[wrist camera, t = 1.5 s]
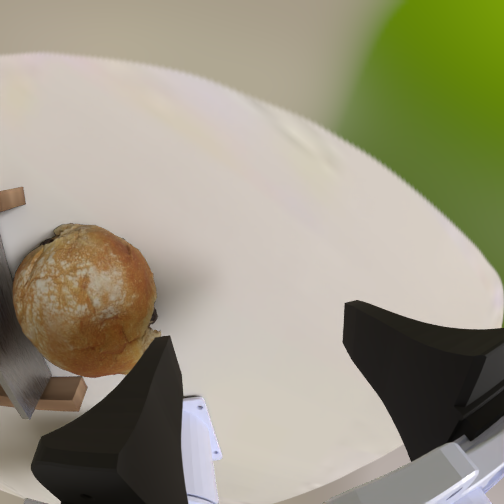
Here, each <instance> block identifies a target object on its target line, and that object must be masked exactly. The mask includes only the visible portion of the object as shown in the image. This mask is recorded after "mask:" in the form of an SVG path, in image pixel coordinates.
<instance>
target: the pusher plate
mask: <svg viewBox="0 0 504 504" xmlns="http://www.w3.org/2000/svg"><path fill="white" fill-rule="evenodd" d="M12 291H13V280H12V277H11V274H10V270H9V267H8V263H7V260H6V256H5V252H4V248H3V244H2V240H1V236H0V384H1V386H2V388H3V389H4V391H5V393H6V394H7V396H8V397H9V399H10V401H11V402H12V404H13V405H14V407H15V408H16V410H17V411H18V413H19V414H20V416H21V417H22V418H23V419H30V418H31V416H32V414H33V412H34V410H35V408H36V405H37V403H38V401H39V399H40V397H41V395H42V393H43V391H44V389H45V387H46V385H47V384H48V382H49V380H50V378H51V376H52V375H51V373H50V371H49V369H48V367H47V365H46V363H45V361H44V359H43V357H42V355H41V353H40V352H39V351H38V350H37V349H36V347H35V346H34V345H33V344H32V342H31V341H30V340H29V339H28V338H27V337H26V335H25V334H24V333H23V331H22V328H21V326H20V324H19V322H18V319H17V317H16V313H15V309H14V304H13V292H12Z"/></svg>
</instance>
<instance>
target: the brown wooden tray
mask: <svg viewBox="0 0 504 504" xmlns="http://www.w3.org/2000/svg"><path fill="white" fill-rule="evenodd" d="M24 204H26V203H25V197H24V190H23V187H19V188H14V189H9V190H4V191H0V212H2V211H5V210H8V209H11V208H14V207H17V206H21V205H24ZM86 390H87V386H86V384H85V382H84V380H83V378H82V377H51V378H50V380H49V382H48V384H47V385H46V387H45V389H44V391H43V393H42V395H41V397H40V399H39V401H38V403H37V405H36V408H35V409H37V410H52V411H77V412H79V410H80V407H81V404H82V401H83V398H84V396H85V393H86ZM0 405H1V406H8V407H14V405H13V404H12V402H11V401H10V399H9V397H8V396H7V394H6V393H5V391H4V389H3V388H2V386H1V384H0Z"/></svg>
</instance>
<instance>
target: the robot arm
mask: <svg viewBox="0 0 504 504" xmlns="http://www.w3.org/2000/svg"><path fill="white" fill-rule="evenodd" d="M343 344H344V346H345V348H346V350H347V352H348V354H349V356H350V357H351V359H352V361H353V362H354V364H355V365H356V366H357V368H358V369H359V370H360V372H361V373H362V374H363V376H364V377H365V378H366V380H367V381H368V382H369V383H370V385H371V386H372V387H373V389H374V390H375V391H376V393H377V394H378V396H379V397H380V399H381V400H382V402H383V403H384V405H385V407H386V409H387V410H388V412H389V414H390V416H391V418H392V420H393V422H394V424H395V426H396V428H397V430H398V432H399V434H400V436H401V438H402V441H403V443H404V445H405V447H406V450H407V452H408V455H409V457H410V460H411V463H408V464H407V465H404V466H402V467H400V468H398V469H397V470H394V471H392V472H390V473H388V474H386V475H384V476H381V477H379V478H377V479H374V480H372V481H370V482H367V483H365V484H362V485H360V486H358V487H355V488H352V489H350V490H348V491H346V492H343V493H341V494H339V495H336V496H334V497H332V498H330V499H329V500H327V501H325V502H323V503H322V504H492V503H491V502H490V500H489V499H488V497H487V496H486V495H485V493H486V492H487V491H489V490H490V489H491V488H492V487H493V486H494V485H495V484H497V482H499V481H500V480H501V479H502V478H503V477H504V328H498V329H485V330H477V329H458V328H449V327H443V326H437V325H433V324H428V323H424V322H420V321H417V320H413V319H410V318H407V317H404V316H401V315H398V314H395V313H393V312H390V311H387V310H385V309H382V308H379V307H377V306H374V305H371V304H369V303H366V302H363V301H359V300H356V301H351V302H347V303H345V309H344V329H343ZM220 459H222V453H221V450H220V447H219V444H218V441H217V438H216V435H215V432H214V429H213V426H212V423H211V420H210V416H209V413H208V410H207V407H206V403H205V400H204V398H202V397H191V398H183V384H182V374H181V371H180V368H179V364H178V361H177V358H176V354H175V351H174V348H173V344H172V341H171V337H170V336H162V337H155V338H154V340H153V341H152V342H151V344H150V345H149V346H148V348H147V349H146V351H145V352H144V353H143V355H142V356H141V358H140V359H139V360H138V362H137V363H136V364H135V366H134V367H133V368H132V369H131V371H130V372H129V373H128V374H127V375H126V376H125V378H124V379H123V380H122V381H121V382H120V383H119V384H118V386H117V387H116V388H115V389H114V390H113V391H111V392H110V393H109V394H108V395H107V396H106V397H105V398H104V399H103V400H101V401H100V402H99V403H98V404H96V405H95V406H94V407H93V408H91V409H90V410H89V411H87V412H86V413H85V414H83V415H82V416H80V417H79V418H77V419H75V420H74V421H72V422H70V423H69V424H67V425H65V426H63V427H61V428H59V429H57V430H55V431H53V432H51V433H49V434H46V435H44V436H42V437H41V439H40V441H39V444H38V447H37V449H36V452H35V455H34V458H33V461H32V464H31V471H32V472H33V474H34V476H35V478H36V479H37V480H38V481H39V482H40V483H41V484H42V485H43V486H44V487H45V488H46V489H47V490H49V491H50V492H51V493H52V494H53V495H54V496H55V497H57V498H58V499H59V500H60V501H61V504H219V498H218V492H217V485H216V479H215V472H214V465H213V461H214V460H220ZM24 504H47V503H43V502H39V501H36V500H32V499H29V498H25V501H24Z"/></svg>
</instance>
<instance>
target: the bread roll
mask: <svg viewBox="0 0 504 504" xmlns="http://www.w3.org/2000/svg"><path fill="white" fill-rule="evenodd" d="M54 233H55V235H56V236H55V237H53V238H51V239H47V240H45V241H44V242H42V243H41V244H40V246H39V247H38V248H36V249H35V250H32V251H31V252H30V253H29V254H28V255H27V256H26V257H25V258H24V259H23V261H22V262H21V264H20V265H19V267H18V269H17V271H16V273H15V277H14V282H13V291H12V292H13V304H14V309H15V313H16V317H17V319H18V322H19V324H20V326H21V328H22V331H23V333H24V334H25V335H26V337H27V338H28V339H29V340H30V341H31V342H32V344H33V345H34V346H35V347H36V349H37V350H38V351H39V352H40V353H41V354H42V355H43V356H44V357H45V358H46V359H47V360H48V361H49V362H51V363H52V364H54V365H55V366H57V367H59V368H61V369H63V370H66V371H69V372H72V373H74V374H76V375H80V376H84V377H90V378H96V377H101V376H106V375H114V374H124V375H126V374H128V373H129V371H131V369H132V368H133V367H134V366H135V364H136V363H137V362H138V360H139V359H140V358H141V356H142V355H143V353H144V352H145V351H146V349H147V348H148V346H149V345H150V344H151V342H152V341H153V340H154V338H155V337H161V331H159V332H158V331H157V330H154V331H153V330H152V328H151V327H150V324H153V323H154V322H155V321H156V320H157V317H158V315H157V312H156V309H155V308H154V303H155V300H156V298H157V293H156V287H155V283H154V280H153V277H154V274H153V273H152V272H151V270H150V268H149V266H148V264H147V262H146V260H145V258H144V257H143V255H142V254H141V252H140V251H139V250H138V249H136V248H135V247H133V246H132V245H131V244H129V243H128V242H126V241H125V239H123V238H120V237H118V236H116V235H114V234H112V233H111V232H109V231H107V230H106V229H104V228H101V227H98V226H96V225H79V224H75V225H74V224H72V223H70V224H64V225H61V226H59V227H58V228H56V229H55V230H54Z"/></svg>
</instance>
